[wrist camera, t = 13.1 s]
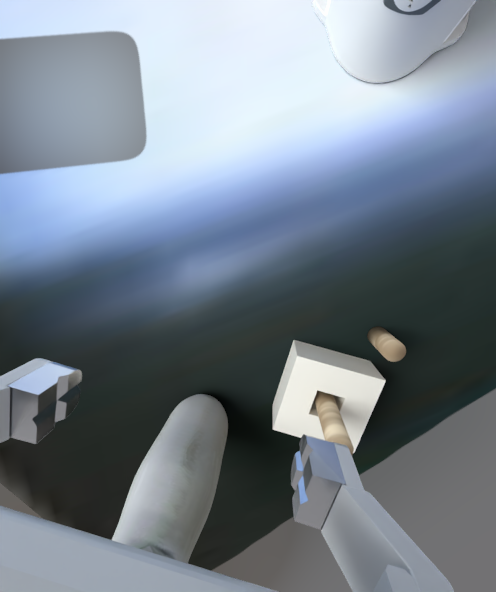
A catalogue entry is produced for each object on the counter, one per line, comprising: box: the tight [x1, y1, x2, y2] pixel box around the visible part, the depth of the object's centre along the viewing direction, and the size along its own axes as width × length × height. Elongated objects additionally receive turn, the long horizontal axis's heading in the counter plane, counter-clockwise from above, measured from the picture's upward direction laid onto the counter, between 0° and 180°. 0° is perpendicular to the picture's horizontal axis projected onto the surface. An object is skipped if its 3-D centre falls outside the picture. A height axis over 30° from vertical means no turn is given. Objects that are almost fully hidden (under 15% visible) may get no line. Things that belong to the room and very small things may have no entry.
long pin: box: [314, 390, 354, 455], centre depth 37 cm, size 3×3×14 cm
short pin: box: [367, 327, 406, 362], centre depth 38 cm, size 3×3×6 cm
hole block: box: [273, 340, 386, 453], centre depth 41 cm, size 13×13×6 cm
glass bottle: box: [112, 394, 228, 563], centre depth 33 cm, size 10×10×28 cm
